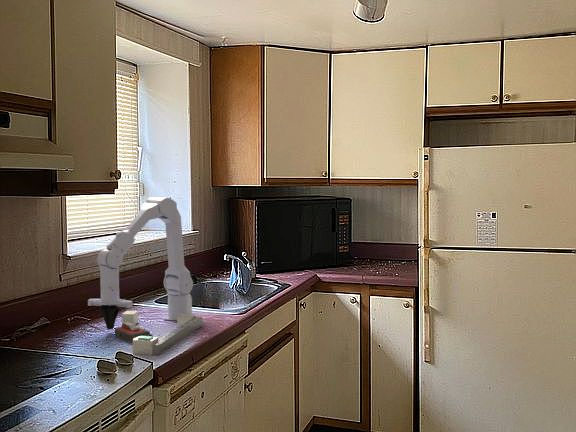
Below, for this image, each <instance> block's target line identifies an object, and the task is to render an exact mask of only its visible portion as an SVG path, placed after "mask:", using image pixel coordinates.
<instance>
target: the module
mask: <svg viewBox="0 0 576 432" xmlns="http://www.w3.org/2000/svg"><path fill="white" fill-rule="evenodd" d="M128 322H130V323H132V324H135V325H137V324H138V323H139V311H138V310H126V311H124V312H122V314H121V325H122V324H123V323H128Z"/></svg>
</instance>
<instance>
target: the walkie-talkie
mask: <svg viewBox="0 0 576 432" xmlns="http://www.w3.org/2000/svg"><path fill="white" fill-rule="evenodd" d="M138 336H153V337H154V335H153V334H151V331H148V330H145V327H142V326H140V325H136V324H132V323H130V322H128V323H123V324H122V323H121V326H119V327H114V337H115V338H118V339H119V340H123V341H125V342H128V343H129V344H133V339H135V338H136V337H138Z"/></svg>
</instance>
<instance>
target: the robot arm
mask: <svg viewBox="0 0 576 432" xmlns="http://www.w3.org/2000/svg"><path fill="white" fill-rule="evenodd" d="M177 204H178V203H177V202H176V201H175V200H173V199H172V198H170V197H157V196H156V197H155V196H150V197H148V198H147V199H145V202H143V204H142V205H141V208H140V209H139V212H138V213H137V214H136V216H134V219H133V220H132V221H131V222H130V224H129V225H128V227H127V228H126V229H125V230H120V231H119V232H117V233H116V234H115V237H114V238H113V240H111V242H110V243H109V244H107V245H106V248H104V249H101V250H100V251H99V252H98V255H97V257H96V259H95V260H96V264H97V265H98V266H99V272H100V276H99V277H100V278H99V280H100V282H99V283H100V287H99V288H100V298H89V299H87V306H90V307H92V306H95V307H96V306H98V307H99V306H100V308H98V309H99V313H100V314H101V316H102V317H103V320H104V323H105V327H106V329H107V330H112V329H115V325H116V324H115V323H116V319H117V316H118V314H119V312H120V311H121V308H126V309H130V308H133V300H127V299H121V298H120V266H121V265H122V264H123V262H124V256H125V254H126V253H127V252H128V251H129V250H130V248H131V247H132V246H133V245H134V243H135V241H136V240H135V237H136V236H137V234H138V233H140V231H141V230H142V229H143V228H144V227H145V226H146V224H147V223H149V221H151V220H156V219H159V220H160V221H162V222H163V223H164V224H165V235H166V236H165V237H166V248H167V251H166V252H167V261H168V263H167V264H168V266H167V268H166V269H165V271H164V278H163V287H164V288H165V290H166V293H167V309H168V310H167V316H166V317H164V318H163V320H164V321H174V322H175V321H177V315H178V314H179V313H188V314H193V312H192V311H193V297H192V295H191V291H192V290H193V287H194V281H193V279H192V276H191V271H189V270H188V268H187V267H186V265H185V256H184V255H185V253H184V242H183V241H184V240H183V226H182V216H181V213H180V211H179V210H178V207H177V206H178V205H177Z"/></svg>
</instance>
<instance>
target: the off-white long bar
mask: <svg viewBox="0 0 576 432" xmlns="http://www.w3.org/2000/svg"><path fill="white" fill-rule="evenodd" d="M176 325H177V326H176V328H174V329H173V330H171V331H169V332H168V333H167V334H164V335H163V336H161V337H160V338H159V337H157V336H154V335H153V336H138V337H136V338H135V339H133V343H132V354H136V355H147V356H160V355H162V354H163V353H165V352H166V351H168V350H170V348H172V347H173V346H175V345H176V344H177V343H179V342H181V341H182V340H183V339H185V338H187V337H188V336H189V335H191V334H192V333H193V332H195V331H197V330H198V329H199V328H200V327H202V325H203V316H200V315H199V316H196V313H192V314H188V313H179V314H178V315H177V324H176Z"/></svg>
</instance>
